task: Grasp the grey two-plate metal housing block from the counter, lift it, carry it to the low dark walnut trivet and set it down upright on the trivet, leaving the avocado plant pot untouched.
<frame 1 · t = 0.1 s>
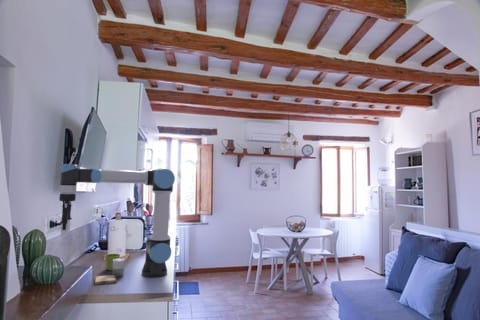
hand: (65, 234, 168), 28 cm above the counter, fingers open, 13 cm apart
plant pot: (111, 269, 205), on the counter
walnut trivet: (105, 280, 181), on the counter
housing: (117, 274, 193), on the counter
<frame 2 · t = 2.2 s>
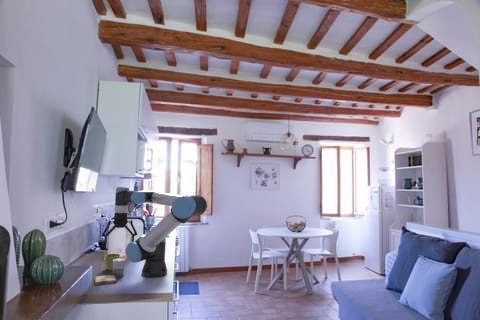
hand: (119, 247, 194), 16 cm above the counter, fingers open, 13 cm apart
nothing on the counter moved.
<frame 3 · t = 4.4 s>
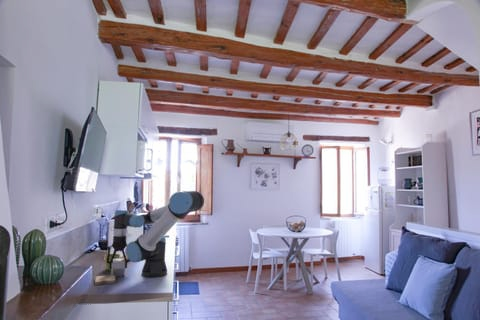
hand: (117, 274, 193), 0 cm above the counter, fingers closed on housing, 6 cm apart
housing: (117, 274, 193), on the counter, touching gripper
everything else where it was.
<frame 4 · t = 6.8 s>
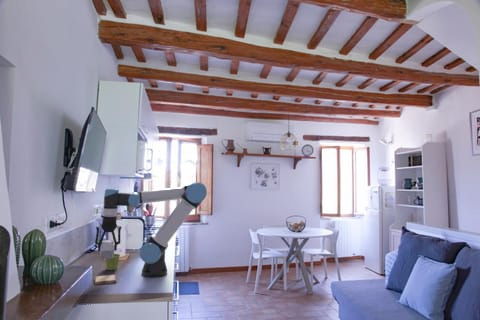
hand: (106, 256, 183), 13 cm above the counter, fingers closed on housing, 6 cm apart
housing: (106, 257, 183), point 13 cm above the counter, touching gripper
everything else where it was.
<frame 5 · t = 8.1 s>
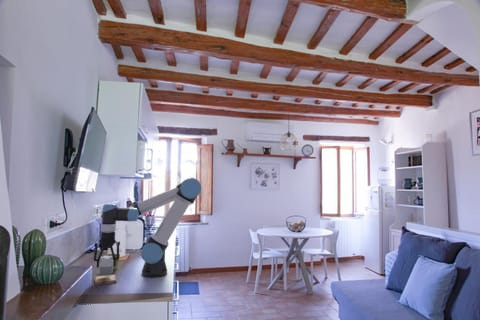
hand: (105, 272, 182), 5 cm above the counter, fingers closed on housing, 6 cm apart
housing: (105, 273, 182), point 4 cm above the counter, touching gripper
everything else where it was.
when the fingers open (3 cm above the counter, at t = 9.0 s): housing drops 1 cm, resting on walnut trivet.
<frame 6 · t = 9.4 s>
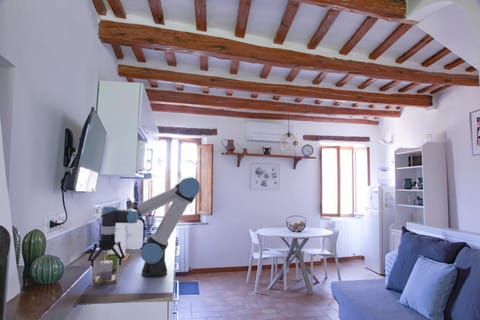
hand: (105, 272, 182), 5 cm above the counter, fingers open, 12 cm apart
housing: (105, 278, 181), point 1 cm above the counter, touching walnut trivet
everything else where it was.
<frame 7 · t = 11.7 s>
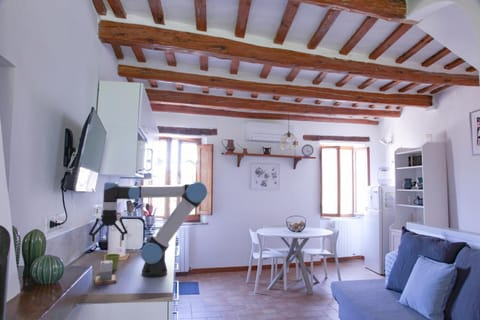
hand: (107, 247, 183), 19 cm above the counter, fingers open, 13 cm apart
nothing on the counter moved.
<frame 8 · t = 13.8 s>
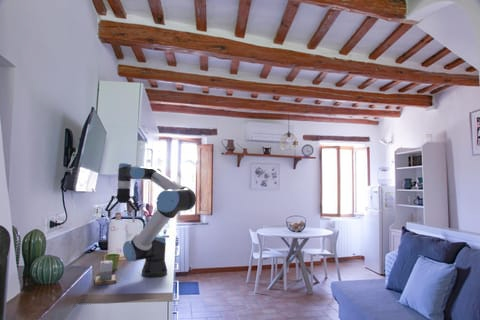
hand: (121, 222, 199), 31 cm above the counter, fingers open, 13 cm apart
nothing on the counter moved.
at the end: housing inside the target area on the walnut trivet (0.1 cm from its centre), point 1.5 cm above the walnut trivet's base; housing tilted 0°; the gripper is holding nothing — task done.
